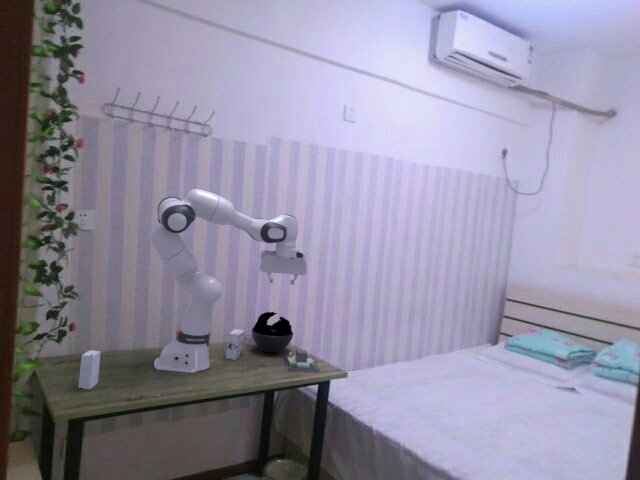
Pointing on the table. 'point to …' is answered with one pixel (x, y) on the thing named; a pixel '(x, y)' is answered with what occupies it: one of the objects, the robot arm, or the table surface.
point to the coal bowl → (272, 333)
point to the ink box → (235, 344)
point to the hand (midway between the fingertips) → (281, 283)
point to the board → (299, 364)
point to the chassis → (301, 369)
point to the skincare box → (89, 369)
